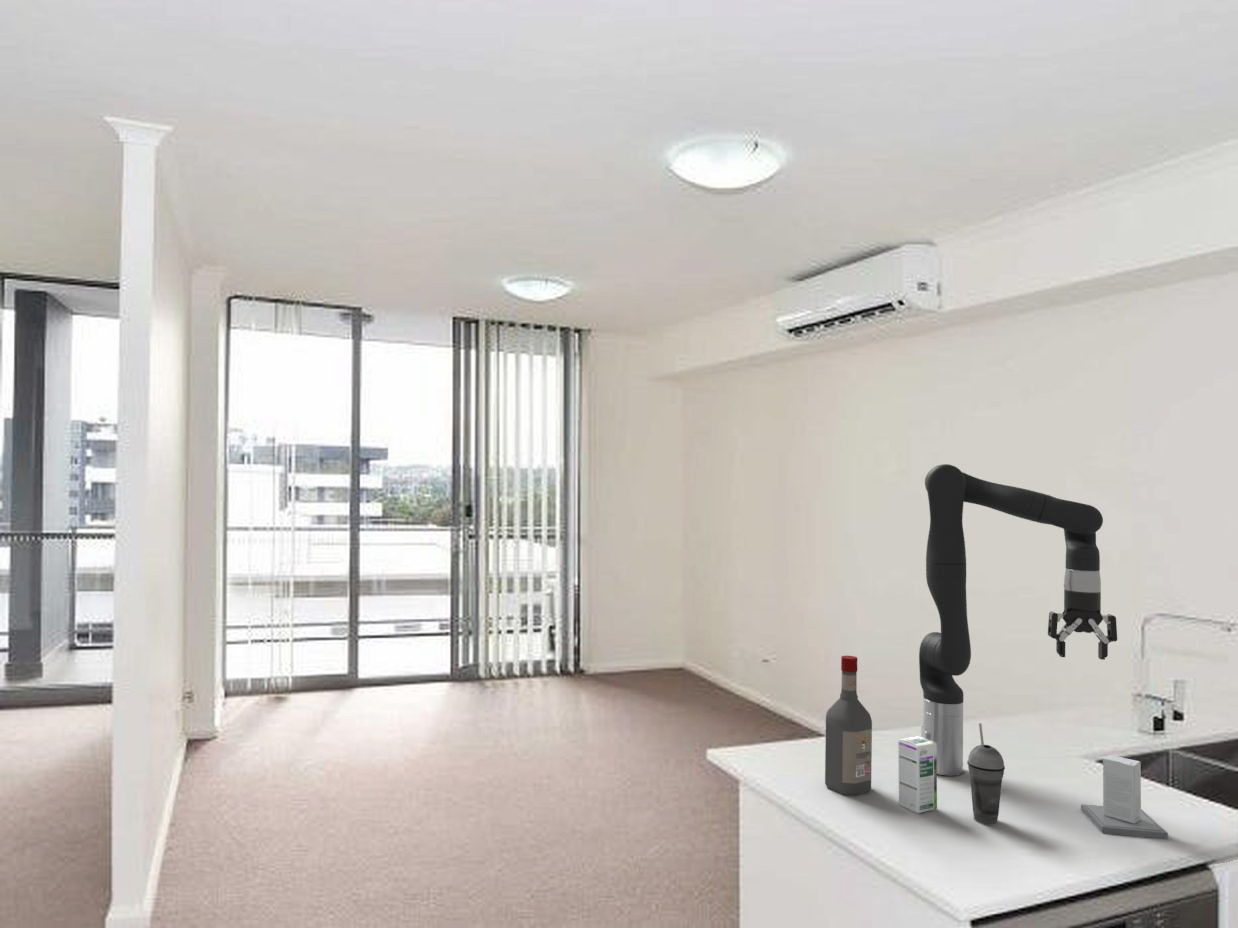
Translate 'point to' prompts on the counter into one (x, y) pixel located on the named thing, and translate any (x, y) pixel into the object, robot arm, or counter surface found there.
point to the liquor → (848, 738)
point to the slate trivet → (1124, 824)
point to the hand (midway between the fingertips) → (1081, 657)
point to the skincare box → (1122, 788)
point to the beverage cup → (985, 781)
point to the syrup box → (917, 774)
